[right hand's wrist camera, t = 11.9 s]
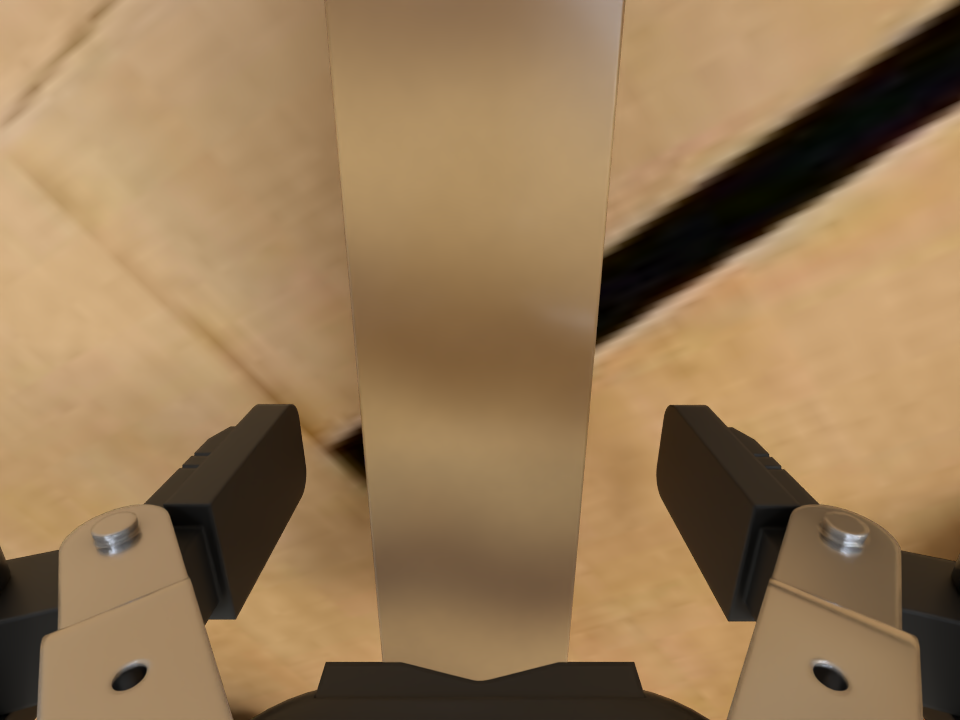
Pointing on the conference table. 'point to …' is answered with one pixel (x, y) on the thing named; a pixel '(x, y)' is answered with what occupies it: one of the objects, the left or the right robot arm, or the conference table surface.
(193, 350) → the conference table surface
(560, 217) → the beam
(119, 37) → the conference table surface
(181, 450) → the conference table surface
